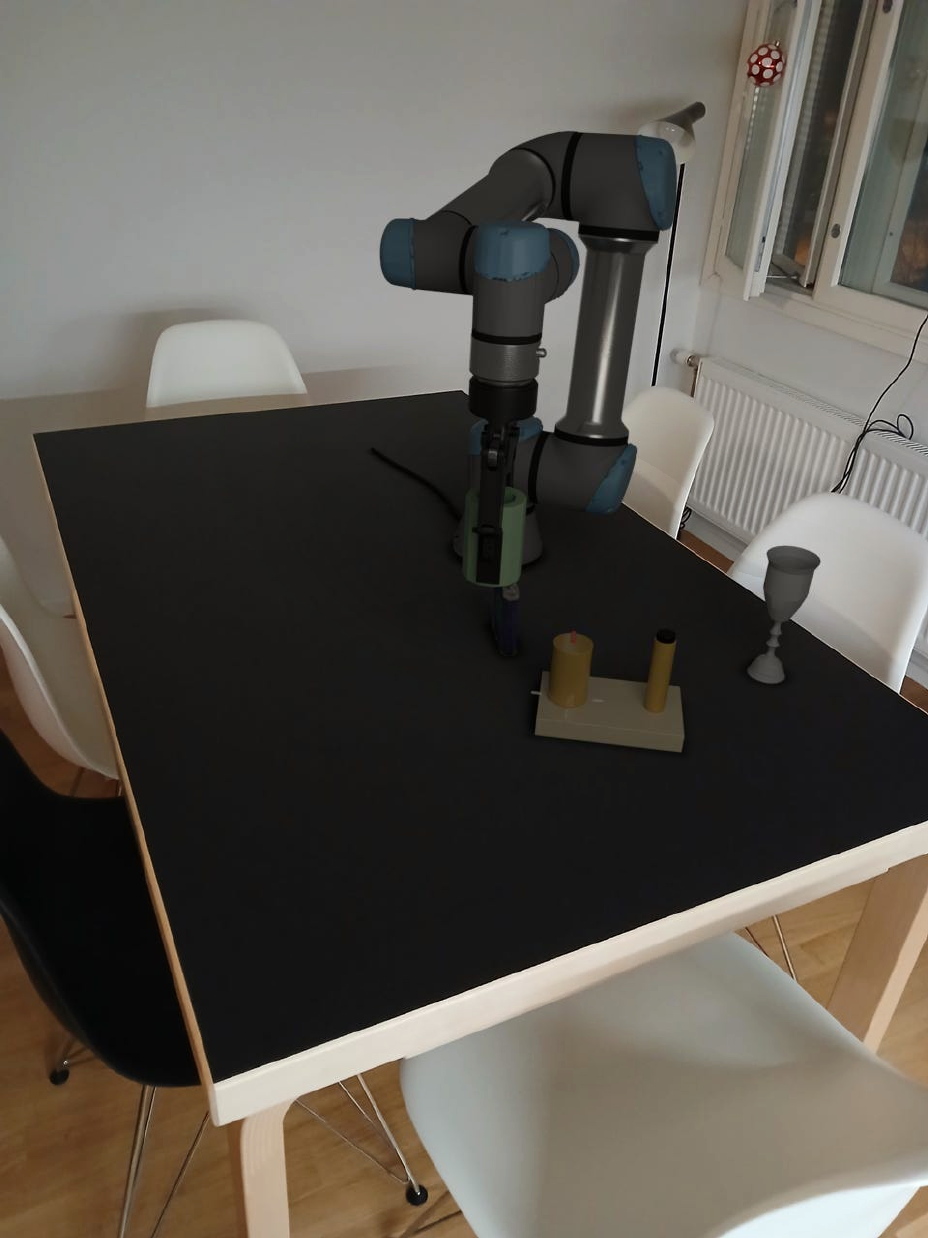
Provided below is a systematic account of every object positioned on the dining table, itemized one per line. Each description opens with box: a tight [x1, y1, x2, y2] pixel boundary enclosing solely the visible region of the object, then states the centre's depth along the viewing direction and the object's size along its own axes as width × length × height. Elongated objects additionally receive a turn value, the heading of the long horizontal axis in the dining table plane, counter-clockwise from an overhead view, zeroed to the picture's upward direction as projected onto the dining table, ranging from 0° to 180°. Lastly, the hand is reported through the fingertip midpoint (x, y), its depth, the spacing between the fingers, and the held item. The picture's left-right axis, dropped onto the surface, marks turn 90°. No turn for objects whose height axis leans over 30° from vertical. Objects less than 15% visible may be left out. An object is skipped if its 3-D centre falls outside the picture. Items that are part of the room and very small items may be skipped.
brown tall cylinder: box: [644, 628, 677, 713], centre depth 119 cm, size 3×3×12 cm
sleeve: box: [461, 486, 527, 588], centre depth 113 cm, size 7×7×10 cm
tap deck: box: [530, 670, 685, 753], centre depth 123 cm, size 19×11×3 cm, turn 81°
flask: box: [491, 582, 521, 657], centre depth 137 cm, size 9×3×11 cm, turn 8°
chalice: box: [746, 545, 822, 684], centre depth 130 cm, size 7×7×18 cm
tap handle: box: [548, 630, 594, 708], centre depth 121 cm, size 5×5×8 cm
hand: (492, 567), depth 115 cm, fingers closed on sleeve, 7 cm apart
